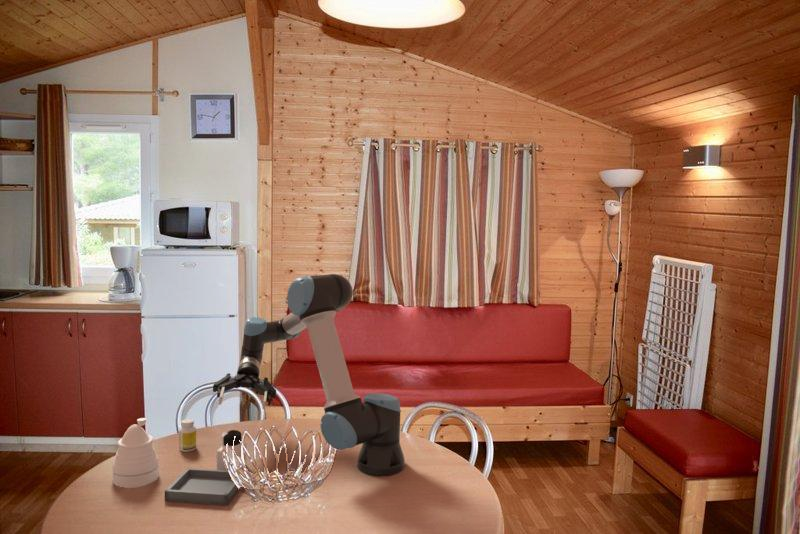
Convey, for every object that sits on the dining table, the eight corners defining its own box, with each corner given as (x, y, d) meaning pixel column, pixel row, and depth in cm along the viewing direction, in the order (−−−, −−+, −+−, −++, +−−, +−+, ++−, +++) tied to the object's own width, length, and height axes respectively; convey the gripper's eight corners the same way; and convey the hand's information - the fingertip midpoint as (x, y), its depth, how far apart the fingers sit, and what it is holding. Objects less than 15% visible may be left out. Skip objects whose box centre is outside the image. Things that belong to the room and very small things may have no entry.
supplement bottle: (199, 448, 212) (199, 420, 211) (186, 453, 208) (186, 425, 206) (189, 444, 215) (188, 417, 214) (175, 449, 210) (175, 421, 209)
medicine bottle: (246, 465, 200) (246, 428, 198) (238, 474, 193) (238, 437, 191) (225, 463, 200) (224, 427, 199) (216, 473, 193) (215, 435, 192)
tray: (245, 481, 188) (245, 471, 188) (227, 505, 174) (227, 495, 173) (187, 477, 190) (187, 467, 190) (164, 501, 175) (164, 490, 175)
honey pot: (154, 465, 198) (152, 410, 196) (163, 481, 187) (161, 423, 185) (109, 474, 191) (107, 417, 189) (116, 491, 180) (114, 431, 178)
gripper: (283, 385, 222) (280, 417, 202) (210, 377, 217) (200, 409, 197) (286, 366, 220) (283, 396, 200) (212, 358, 215) (203, 388, 195)
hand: (242, 402), depth 198 cm, fingers open, 13 cm apart
